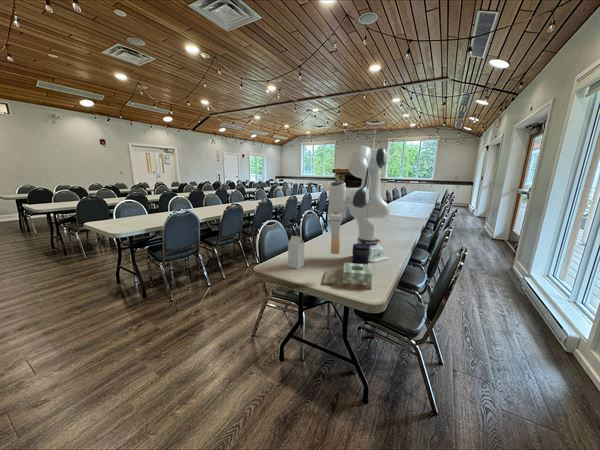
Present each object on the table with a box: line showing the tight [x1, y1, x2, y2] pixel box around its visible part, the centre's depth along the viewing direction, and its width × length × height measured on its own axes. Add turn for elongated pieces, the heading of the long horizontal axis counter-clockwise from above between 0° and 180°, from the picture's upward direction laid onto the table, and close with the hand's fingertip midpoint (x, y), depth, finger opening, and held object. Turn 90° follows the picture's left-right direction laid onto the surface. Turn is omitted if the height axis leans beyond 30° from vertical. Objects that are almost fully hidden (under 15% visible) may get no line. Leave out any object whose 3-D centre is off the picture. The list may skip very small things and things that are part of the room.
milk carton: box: [287, 235, 305, 270], centre depth 151 cm, size 7×7×19 cm
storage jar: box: [351, 242, 370, 265], centre depth 148 cm, size 10×10×15 cm
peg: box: [330, 230, 341, 255], centre depth 130 cm, size 4×4×14 cm
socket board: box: [322, 262, 373, 290], centre depth 132 cm, size 24×16×8 cm, turn 79°
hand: (335, 239), depth 130 cm, fingers closed on peg, 4 cm apart
